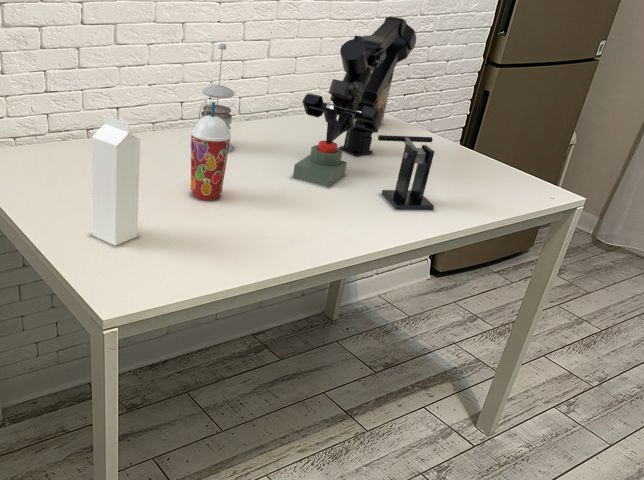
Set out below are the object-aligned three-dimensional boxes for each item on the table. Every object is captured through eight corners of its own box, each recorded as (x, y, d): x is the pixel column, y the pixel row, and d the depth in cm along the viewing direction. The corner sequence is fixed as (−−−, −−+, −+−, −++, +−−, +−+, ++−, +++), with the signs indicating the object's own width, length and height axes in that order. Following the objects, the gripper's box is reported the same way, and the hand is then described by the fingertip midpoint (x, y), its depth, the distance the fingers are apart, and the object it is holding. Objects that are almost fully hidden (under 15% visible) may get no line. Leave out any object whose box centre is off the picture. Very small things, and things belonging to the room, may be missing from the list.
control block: (311, 165, 184) (315, 141, 181) (345, 174, 181) (349, 150, 178) (292, 178, 175) (296, 153, 172) (327, 187, 172) (331, 162, 169)
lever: (376, 141, 168) (379, 131, 167) (428, 143, 171) (432, 133, 170) (391, 163, 161) (394, 153, 160) (445, 164, 164) (449, 154, 163)
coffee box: (364, 128, 216) (376, 72, 207) (347, 122, 219) (358, 66, 211) (383, 124, 222) (394, 69, 213) (365, 118, 225) (376, 63, 216)
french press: (239, 147, 190) (250, 45, 177) (215, 157, 182) (225, 51, 168) (208, 138, 194) (216, 37, 181) (182, 147, 186) (189, 42, 172)
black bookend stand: (381, 194, 172) (393, 140, 165) (416, 195, 174) (430, 141, 167) (395, 210, 164) (409, 154, 157) (432, 210, 166) (447, 155, 159)
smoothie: (229, 193, 163) (239, 101, 152) (217, 206, 156) (226, 110, 145) (194, 185, 165) (201, 94, 154) (180, 197, 158) (187, 103, 147)
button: (321, 149, 179) (323, 139, 178) (338, 153, 178) (340, 143, 176) (314, 153, 176) (316, 143, 175) (331, 158, 174) (333, 147, 173)
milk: (114, 227, 143) (116, 112, 131) (137, 237, 140) (141, 120, 128) (91, 235, 138) (91, 117, 126) (115, 246, 136) (117, 126, 124)
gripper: (312, 57, 173) (285, 114, 171) (387, 73, 167) (361, 133, 164) (319, 86, 184) (294, 140, 181) (390, 102, 177) (366, 158, 175)
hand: (327, 142), depth 175 cm, fingers closed, pressing on button
